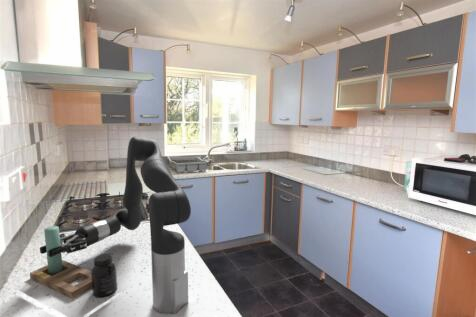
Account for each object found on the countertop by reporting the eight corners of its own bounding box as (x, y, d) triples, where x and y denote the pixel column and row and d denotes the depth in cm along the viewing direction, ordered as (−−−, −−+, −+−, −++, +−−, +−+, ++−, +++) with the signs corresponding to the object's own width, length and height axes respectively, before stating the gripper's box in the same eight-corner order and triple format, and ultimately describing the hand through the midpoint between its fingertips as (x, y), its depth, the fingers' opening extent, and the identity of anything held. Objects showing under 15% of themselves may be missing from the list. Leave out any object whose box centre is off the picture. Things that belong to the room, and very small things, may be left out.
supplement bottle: (89, 293, 87) (87, 256, 85) (112, 284, 91) (110, 249, 90) (97, 304, 82) (94, 265, 80) (121, 294, 87) (119, 257, 85)
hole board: (102, 284, 92) (102, 275, 91) (72, 301, 83) (72, 291, 82) (61, 267, 101) (60, 258, 101) (30, 281, 93) (29, 272, 92)
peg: (65, 272, 95) (61, 227, 93) (53, 278, 92) (48, 232, 89) (58, 269, 97) (54, 225, 95) (46, 275, 94) (41, 229, 91)
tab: (113, 265, 103) (113, 263, 103) (91, 278, 95) (90, 275, 95) (97, 259, 107) (96, 257, 107) (74, 271, 99) (73, 268, 99)
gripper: (80, 220, 108) (30, 236, 93) (105, 227, 102) (56, 246, 87) (81, 238, 109) (33, 258, 94) (106, 246, 103) (59, 269, 88)
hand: (44, 252), depth 91 cm, fingers closed on peg, 4 cm apart
